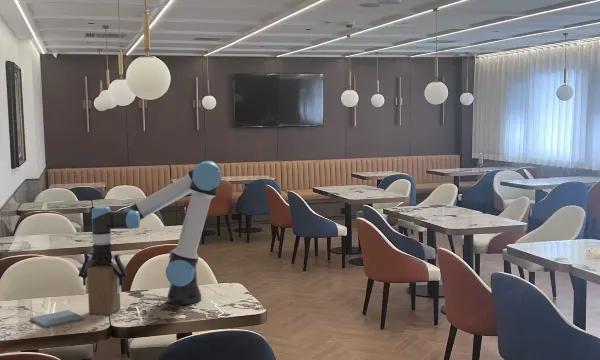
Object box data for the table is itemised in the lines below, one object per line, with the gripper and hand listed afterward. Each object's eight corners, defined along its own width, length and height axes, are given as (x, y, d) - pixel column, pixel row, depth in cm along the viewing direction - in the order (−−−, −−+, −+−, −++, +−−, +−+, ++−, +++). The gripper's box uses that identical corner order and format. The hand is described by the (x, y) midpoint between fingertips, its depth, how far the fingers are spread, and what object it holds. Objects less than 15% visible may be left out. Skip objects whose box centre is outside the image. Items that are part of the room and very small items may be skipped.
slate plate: (68, 312, 282) (68, 310, 282) (84, 319, 271) (84, 317, 271) (30, 320, 272) (30, 317, 272) (45, 328, 260) (45, 325, 260)
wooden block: (110, 315, 275) (108, 268, 274) (88, 315, 277) (86, 267, 276) (121, 309, 285) (119, 263, 284) (100, 308, 287) (98, 263, 286)
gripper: (133, 241, 282) (135, 290, 284) (76, 241, 283) (77, 290, 285) (128, 244, 275) (129, 295, 276) (69, 244, 276) (71, 295, 278)
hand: (103, 293), depth 281 cm, fingers open, 13 cm apart
